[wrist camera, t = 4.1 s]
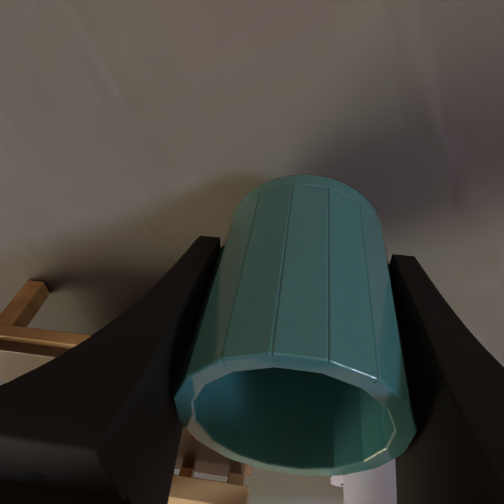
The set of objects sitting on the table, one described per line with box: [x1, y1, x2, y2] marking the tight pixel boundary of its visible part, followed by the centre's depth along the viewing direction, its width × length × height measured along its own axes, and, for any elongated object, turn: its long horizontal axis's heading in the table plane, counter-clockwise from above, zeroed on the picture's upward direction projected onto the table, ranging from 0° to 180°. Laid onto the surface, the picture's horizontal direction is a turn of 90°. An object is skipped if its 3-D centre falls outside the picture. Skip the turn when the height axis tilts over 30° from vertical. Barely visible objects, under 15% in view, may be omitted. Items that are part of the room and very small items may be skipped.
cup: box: [174, 175, 417, 476], centre depth 11 cm, size 5×5×6 cm
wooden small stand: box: [0, 280, 252, 504], centre depth 21 cm, size 12×13×6 cm
